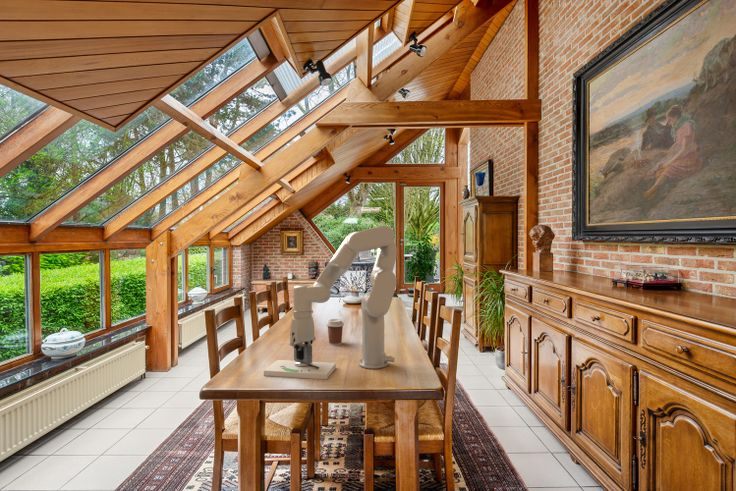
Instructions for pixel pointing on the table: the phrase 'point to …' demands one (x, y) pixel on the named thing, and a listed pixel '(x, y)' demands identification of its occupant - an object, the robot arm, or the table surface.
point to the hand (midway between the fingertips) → (303, 357)
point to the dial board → (300, 370)
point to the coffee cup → (335, 331)
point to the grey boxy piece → (304, 356)
